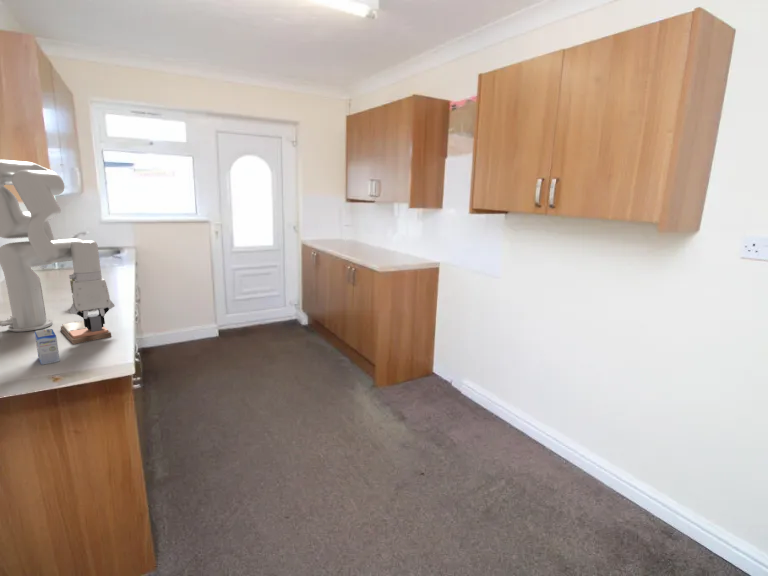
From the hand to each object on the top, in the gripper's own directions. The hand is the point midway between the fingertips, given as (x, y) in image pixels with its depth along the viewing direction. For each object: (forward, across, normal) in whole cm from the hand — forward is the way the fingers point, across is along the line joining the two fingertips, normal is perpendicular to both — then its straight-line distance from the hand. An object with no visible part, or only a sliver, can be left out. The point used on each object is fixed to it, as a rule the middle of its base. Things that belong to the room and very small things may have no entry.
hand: (95, 327), depth 146 cm
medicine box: (+4, -16, -16) cm, 22 cm away
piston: (+4, +8, +50) cm, 51 cm away
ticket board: (+3, -2, +5) cm, 7 cm away
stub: (+2, -2, 0) cm, 3 cm away
